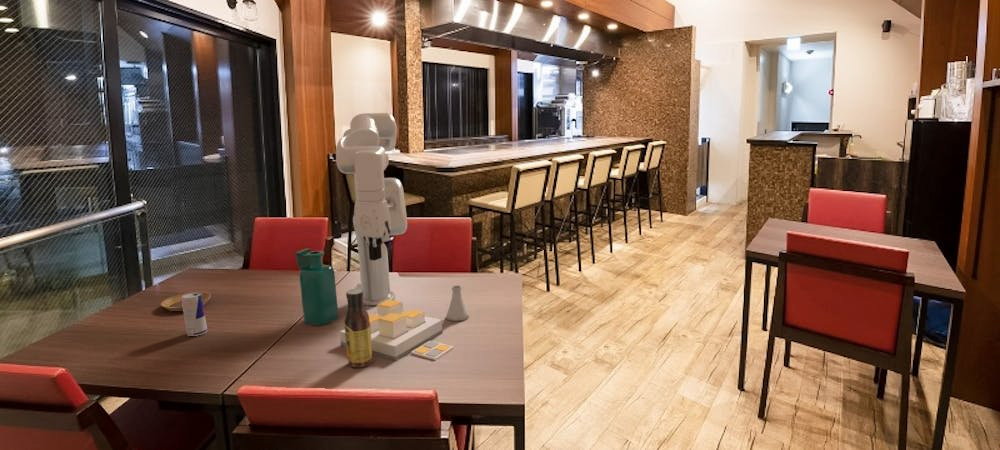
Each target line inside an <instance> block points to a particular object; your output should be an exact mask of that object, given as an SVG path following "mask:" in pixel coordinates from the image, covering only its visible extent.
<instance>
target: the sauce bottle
mask: <svg viewBox="0 0 1000 450" xmlns="http://www.w3.org/2000/svg"><path fill="white" fill-rule="evenodd" d="M345 295H346V299H347V310H346V315H345V318H344V321H343V323H344V324H343V325H344V329H345V337H346V346H345V348H346V355H347V356H346V357H347V362H348V365H349V366H350V367H352V368H364V367H368V366H370V364H372V362H373V354H372V343H371V331H370V323H369V315H368V314H369V312H368V311H367V310H366V309H365V307H364V306H365V305H364V304H363V290H362V289H355V288H350V289H349V290H347V291H346V292H345Z"/></svg>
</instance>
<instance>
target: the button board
mask: <svg viewBox="0 0 1000 450" xmlns="http://www.w3.org/2000/svg"><path fill="white" fill-rule="evenodd" d="M404 312H405V311H404V310H403V313H404ZM375 315H378V313H375ZM442 321H443V320H442V319H439V318H436V317H435V318H434V317H430V316H426V315H425V323H423V324H422V325H420V326H418V327H416V328H414V329H411V328H407V327H406V329H407V333H405V334H403V335H402V336H400V337H398V338H396V339H394V340H393V339H389V338H386V337H382V336H379V330H378V331H376V332H374V333H372V334H371V343H372V355H375V356H378V357H383V358H386V359H389V360H392V361H398V360H399V359H401V358H403V357H405V356H406V355H408V354H409V353H411V352H412V351H413V350H415V349H417V348H418V347H420V346H422V345H423V344H425V343H427V342H428V341H432V340H433V339H434V338H436V337H438V336H439V335H442V333H443V323H442ZM339 334H340V335H339V336H340V345H341V346H343V345H344V347H346V337H345V328H344V329H342V330H340V331H339Z"/></svg>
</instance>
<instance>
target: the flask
mask: <svg viewBox="0 0 1000 450" xmlns="http://www.w3.org/2000/svg"><path fill="white" fill-rule="evenodd" d="M462 288H463V287H462V285H459V284H457V285H451V290H452V295H451V300H450V304H449V307H448V310H447V313H446V320H447V321H453V322H459V321H460V322H461V321H465V320H467V319H468V318H470V315H469V311H468V310H467V309H468V308H467V307H466V305H465V302H464V299H463V297H462Z"/></svg>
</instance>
